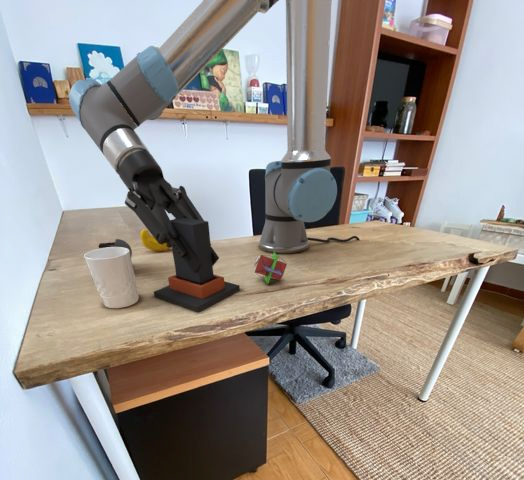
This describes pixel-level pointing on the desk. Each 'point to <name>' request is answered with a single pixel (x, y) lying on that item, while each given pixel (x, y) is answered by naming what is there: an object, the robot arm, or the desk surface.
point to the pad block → (194, 249)
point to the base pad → (196, 292)
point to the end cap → (116, 245)
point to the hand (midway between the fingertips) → (206, 265)
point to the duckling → (151, 242)
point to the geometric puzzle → (270, 267)
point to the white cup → (113, 276)
